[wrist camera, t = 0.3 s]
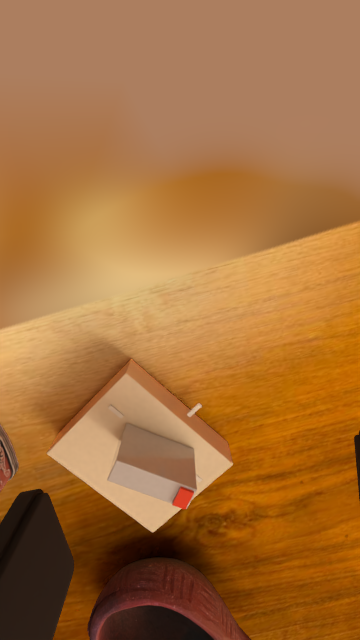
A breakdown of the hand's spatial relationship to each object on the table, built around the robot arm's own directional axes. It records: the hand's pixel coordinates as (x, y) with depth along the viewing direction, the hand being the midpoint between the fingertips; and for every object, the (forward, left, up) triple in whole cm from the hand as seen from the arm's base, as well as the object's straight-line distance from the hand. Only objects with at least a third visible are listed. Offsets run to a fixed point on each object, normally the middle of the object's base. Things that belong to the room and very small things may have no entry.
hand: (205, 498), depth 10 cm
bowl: (+18, -20, -18) cm, 33 cm away
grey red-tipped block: (+4, -8, -15) cm, 18 cm away
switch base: (+4, -9, -18) cm, 21 cm away
